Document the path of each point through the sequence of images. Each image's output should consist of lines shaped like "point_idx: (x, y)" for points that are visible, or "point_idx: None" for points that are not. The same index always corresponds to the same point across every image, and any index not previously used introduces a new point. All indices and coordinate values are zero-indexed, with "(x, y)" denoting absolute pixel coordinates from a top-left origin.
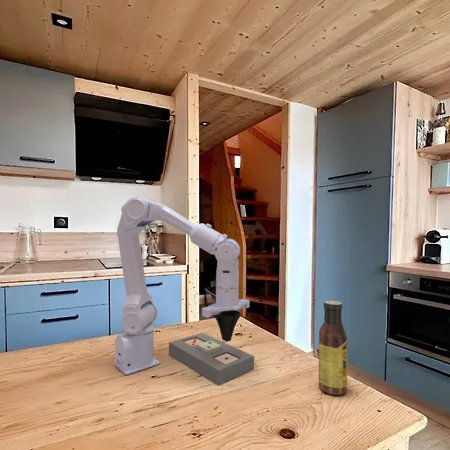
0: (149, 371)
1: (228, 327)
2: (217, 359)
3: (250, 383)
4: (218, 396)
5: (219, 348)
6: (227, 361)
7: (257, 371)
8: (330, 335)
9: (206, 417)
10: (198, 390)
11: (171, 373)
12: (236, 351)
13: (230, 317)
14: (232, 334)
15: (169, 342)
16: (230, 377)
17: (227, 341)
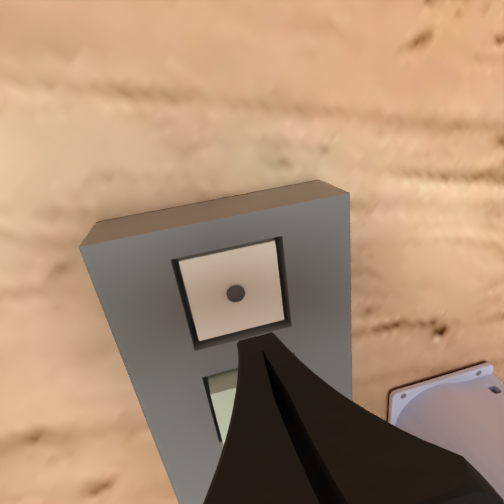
0: (432, 362)
1: (329, 400)
2: (277, 302)
3: (189, 118)
4: (366, 107)
5: (221, 381)
6: (249, 264)
7: (88, 198)
8: None
9: (482, 4)
10: (394, 188)
11: (393, 328)
12: (149, 334)
13: (431, 495)
14: (240, 366)
15: None
16: (256, 195)
17: (271, 333)
